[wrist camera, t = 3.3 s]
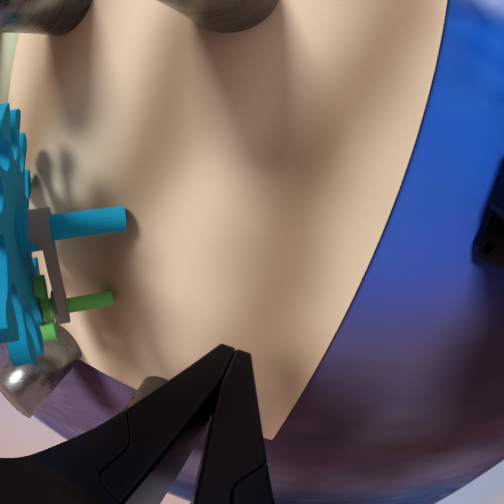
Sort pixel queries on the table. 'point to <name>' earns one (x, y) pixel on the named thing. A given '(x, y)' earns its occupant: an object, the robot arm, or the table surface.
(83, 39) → the board
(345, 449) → the table surface
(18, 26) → the spacer posts
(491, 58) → the table surface
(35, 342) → the gear
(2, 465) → the robot arm
